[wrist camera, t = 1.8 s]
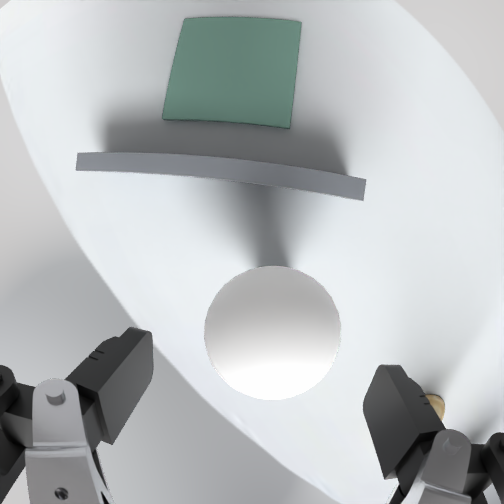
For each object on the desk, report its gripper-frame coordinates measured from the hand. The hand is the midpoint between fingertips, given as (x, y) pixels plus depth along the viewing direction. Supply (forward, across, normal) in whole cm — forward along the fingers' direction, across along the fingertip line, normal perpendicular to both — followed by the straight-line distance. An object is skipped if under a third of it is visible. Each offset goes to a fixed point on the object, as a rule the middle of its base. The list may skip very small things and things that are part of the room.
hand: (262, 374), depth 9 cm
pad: (+12, +5, -15) cm, 19 cm away
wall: (+12, +5, -7) cm, 14 cm away
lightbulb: (+12, 0, 0) cm, 12 cm away
